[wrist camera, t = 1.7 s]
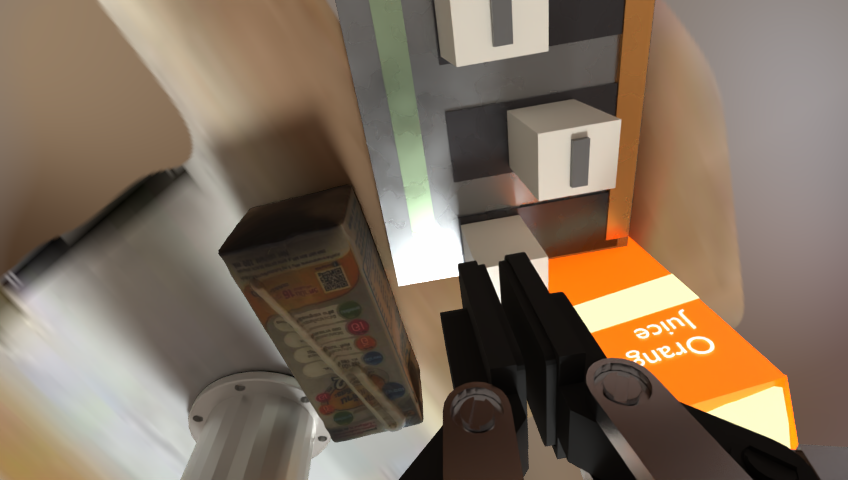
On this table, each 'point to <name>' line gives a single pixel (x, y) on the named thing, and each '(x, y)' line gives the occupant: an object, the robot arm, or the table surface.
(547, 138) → the breaker mid
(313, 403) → the beverage carton
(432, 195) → the panel
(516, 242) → the breaker
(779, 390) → the orange juice
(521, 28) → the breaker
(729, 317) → the table surface
